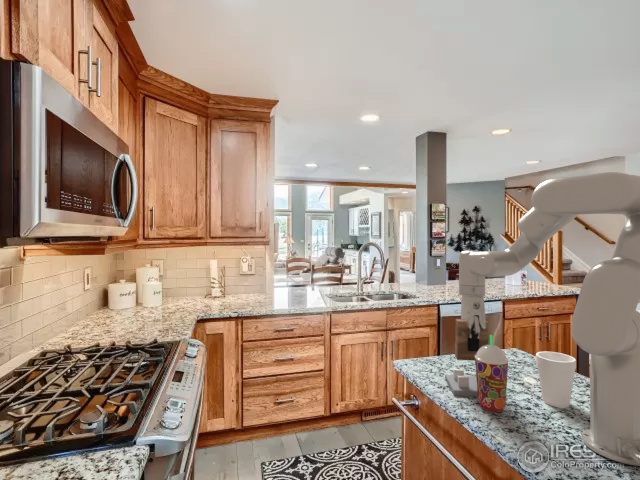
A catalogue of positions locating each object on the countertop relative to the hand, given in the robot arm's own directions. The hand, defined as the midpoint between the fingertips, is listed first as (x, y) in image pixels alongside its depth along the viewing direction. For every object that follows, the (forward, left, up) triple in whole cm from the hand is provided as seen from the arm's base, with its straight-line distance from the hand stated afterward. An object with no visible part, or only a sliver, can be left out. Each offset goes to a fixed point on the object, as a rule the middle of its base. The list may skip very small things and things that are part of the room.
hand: (471, 348), depth 110 cm
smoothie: (-13, -2, -13) cm, 18 cm away
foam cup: (-7, -21, -13) cm, 25 cm away
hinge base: (0, 0, -12) cm, 12 cm away
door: (0, 0, -3) cm, 3 cm away
